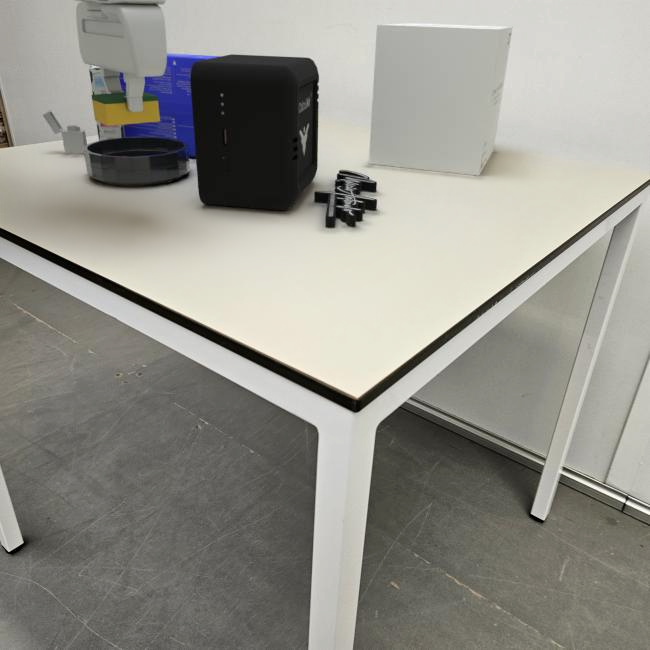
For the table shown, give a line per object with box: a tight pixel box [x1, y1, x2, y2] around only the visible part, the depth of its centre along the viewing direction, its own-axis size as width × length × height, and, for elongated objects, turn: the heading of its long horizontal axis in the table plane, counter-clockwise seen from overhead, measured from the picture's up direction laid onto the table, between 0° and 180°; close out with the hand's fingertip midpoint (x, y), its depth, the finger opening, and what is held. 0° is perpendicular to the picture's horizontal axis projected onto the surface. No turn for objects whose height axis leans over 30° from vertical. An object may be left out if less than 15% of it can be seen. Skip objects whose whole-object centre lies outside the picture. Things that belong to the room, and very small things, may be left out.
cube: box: [368, 22, 513, 176], centre depth 120 cm, size 25×21×24 cm
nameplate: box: [313, 169, 378, 229], centre depth 95 cm, size 28×2×10 cm
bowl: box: [83, 137, 191, 187], centre depth 105 cm, size 17×17×5 cm
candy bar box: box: [88, 65, 125, 141], centre depth 116 cm, size 11×5×16 cm, turn 18°
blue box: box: [119, 52, 222, 159], centre depth 119 cm, size 39×8×18 cm, turn 63°
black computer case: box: [190, 53, 320, 211], centre depth 93 cm, size 20×15×20 cm
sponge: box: [91, 92, 160, 126], centre depth 78 cm, size 7×5×3 cm, turn 128°
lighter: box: [42, 110, 88, 155], centre depth 119 cm, size 7×2×8 cm, turn 96°
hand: (125, 108), depth 78 cm, fingers closed on sponge, 4 cm apart
